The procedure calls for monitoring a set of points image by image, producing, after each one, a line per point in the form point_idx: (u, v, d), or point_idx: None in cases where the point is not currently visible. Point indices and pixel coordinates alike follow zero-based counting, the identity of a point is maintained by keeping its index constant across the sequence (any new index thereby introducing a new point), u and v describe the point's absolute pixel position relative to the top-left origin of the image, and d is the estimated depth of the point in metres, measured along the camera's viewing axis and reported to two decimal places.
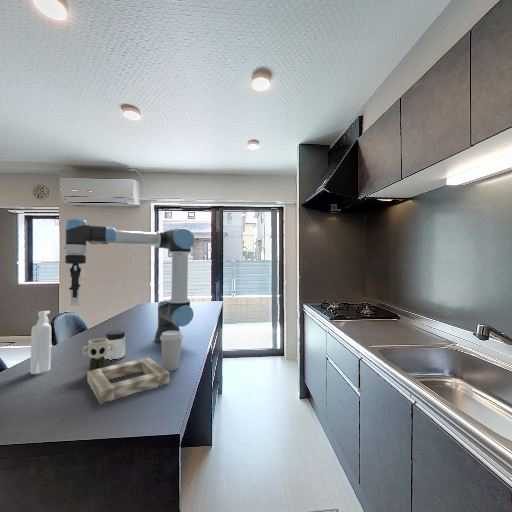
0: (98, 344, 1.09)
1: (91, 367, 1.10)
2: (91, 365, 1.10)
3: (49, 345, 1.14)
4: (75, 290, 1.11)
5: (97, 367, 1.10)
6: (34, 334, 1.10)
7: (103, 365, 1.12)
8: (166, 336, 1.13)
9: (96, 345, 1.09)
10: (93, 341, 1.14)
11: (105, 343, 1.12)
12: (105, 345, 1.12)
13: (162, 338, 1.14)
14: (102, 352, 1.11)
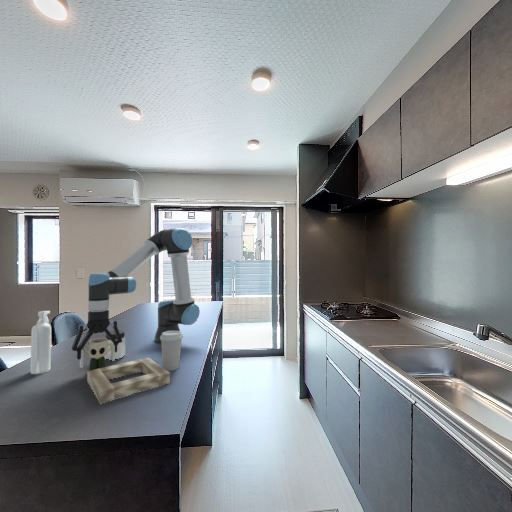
0: (98, 344, 1.09)
1: (91, 367, 1.10)
2: (91, 365, 1.10)
3: (49, 345, 1.14)
4: (77, 352, 1.07)
5: (97, 367, 1.10)
6: (34, 334, 1.10)
7: (103, 365, 1.12)
8: (166, 336, 1.13)
9: (96, 345, 1.09)
10: (93, 341, 1.14)
11: (105, 343, 1.12)
12: (105, 345, 1.12)
13: (162, 338, 1.14)
14: (102, 352, 1.11)
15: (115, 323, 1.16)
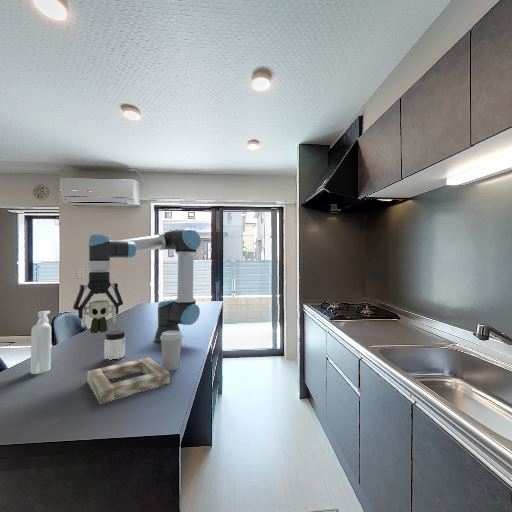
0: (99, 304, 1.10)
1: (92, 327, 1.10)
2: (92, 325, 1.10)
3: (49, 345, 1.14)
4: (78, 311, 1.08)
5: (98, 327, 1.11)
6: (34, 334, 1.10)
7: (104, 326, 1.12)
8: (166, 336, 1.13)
9: (97, 305, 1.10)
10: (94, 303, 1.14)
11: (106, 304, 1.12)
12: (106, 306, 1.12)
13: (162, 338, 1.14)
14: (103, 312, 1.11)
15: (116, 285, 1.16)
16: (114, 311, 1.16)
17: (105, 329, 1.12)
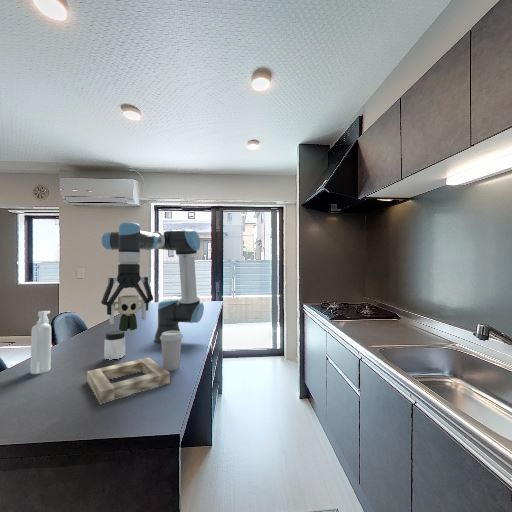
0: (129, 299, 1.00)
1: (122, 324, 1.00)
2: (121, 322, 1.00)
3: (49, 345, 1.14)
4: (107, 306, 0.98)
5: (128, 324, 1.01)
6: (34, 334, 1.10)
7: (134, 323, 1.02)
8: (166, 336, 1.13)
9: (127, 300, 1.00)
10: None
11: (136, 299, 1.03)
12: (136, 301, 1.02)
13: (162, 338, 1.14)
14: (133, 308, 1.02)
15: (146, 279, 1.07)
16: (144, 307, 1.06)
17: (135, 327, 1.02)
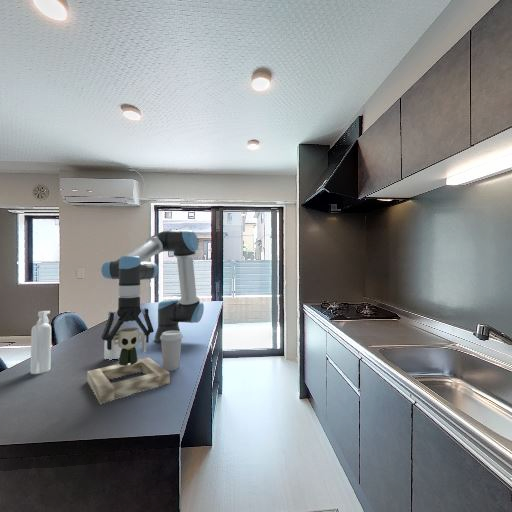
0: (130, 333, 1.00)
1: (122, 358, 1.00)
2: (122, 357, 1.00)
3: (49, 345, 1.14)
4: (107, 341, 0.98)
5: (128, 358, 1.00)
6: (34, 334, 1.10)
7: (135, 356, 1.02)
8: (166, 336, 1.13)
9: (128, 334, 0.99)
10: (123, 330, 1.04)
11: (137, 332, 1.02)
12: (137, 335, 1.02)
13: (162, 338, 1.14)
14: (134, 342, 1.01)
15: (146, 311, 1.06)
16: (144, 340, 1.05)
17: (135, 360, 1.02)
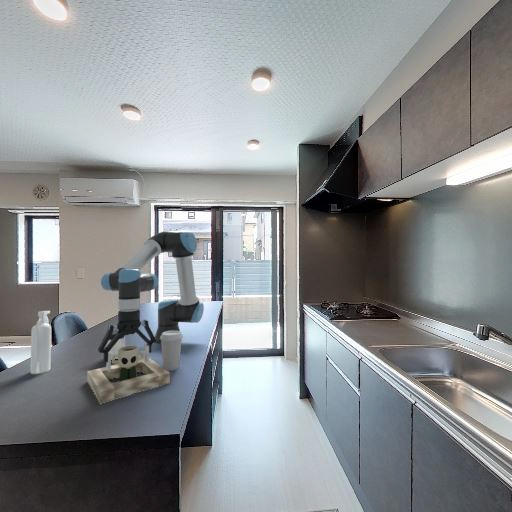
0: (129, 352, 1.00)
1: (122, 378, 1.00)
2: (121, 376, 1.00)
3: (49, 345, 1.14)
4: (104, 354, 0.97)
5: (128, 378, 1.00)
6: (34, 334, 1.10)
7: (134, 375, 1.02)
8: (166, 336, 1.13)
9: (127, 353, 0.99)
10: (123, 349, 1.04)
11: (136, 351, 1.02)
12: (136, 353, 1.02)
13: (162, 338, 1.14)
14: (133, 361, 1.01)
15: (146, 323, 1.06)
16: (147, 350, 1.06)
17: None
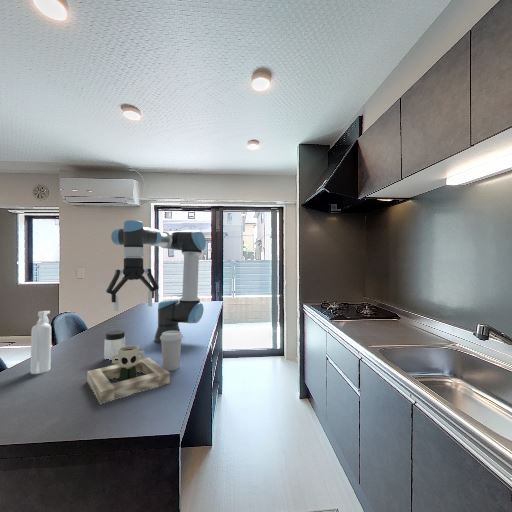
0: (129, 352, 1.00)
1: (122, 377, 1.00)
2: (121, 375, 1.00)
3: (49, 345, 1.14)
4: (111, 295, 1.07)
5: (128, 377, 1.00)
6: (34, 334, 1.10)
7: (134, 375, 1.02)
8: (166, 336, 1.13)
9: (127, 353, 0.99)
10: (123, 349, 1.04)
11: (136, 351, 1.02)
12: (136, 353, 1.02)
13: (162, 338, 1.14)
14: (133, 361, 1.01)
15: (149, 270, 1.17)
16: (150, 295, 1.17)
17: None
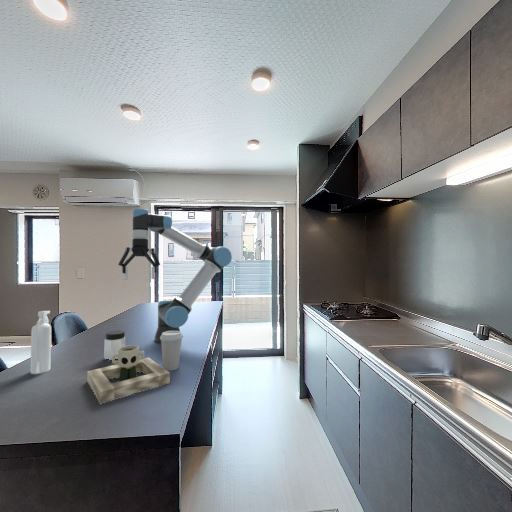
0: (129, 352, 1.00)
1: (122, 377, 1.00)
2: (121, 375, 1.00)
3: (49, 345, 1.14)
4: (122, 267, 1.35)
5: (128, 377, 1.00)
6: (34, 334, 1.10)
7: (134, 375, 1.02)
8: (166, 336, 1.13)
9: (127, 353, 0.99)
10: (123, 349, 1.04)
11: (136, 351, 1.02)
12: (136, 353, 1.02)
13: (162, 338, 1.14)
14: (133, 361, 1.01)
15: (153, 250, 1.44)
16: (153, 270, 1.44)
17: None
